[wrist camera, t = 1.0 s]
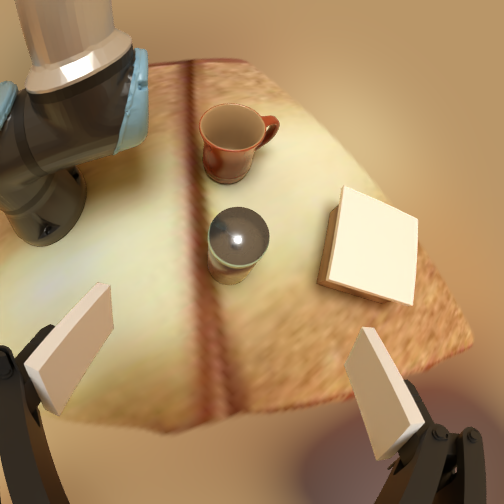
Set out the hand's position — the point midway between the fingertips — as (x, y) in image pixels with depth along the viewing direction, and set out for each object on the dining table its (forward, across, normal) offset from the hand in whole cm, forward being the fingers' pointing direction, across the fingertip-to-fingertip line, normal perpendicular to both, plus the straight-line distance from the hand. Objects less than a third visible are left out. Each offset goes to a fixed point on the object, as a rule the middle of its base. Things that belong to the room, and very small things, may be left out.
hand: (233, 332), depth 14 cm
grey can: (+25, -1, -7) cm, 26 cm away
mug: (+35, -3, +6) cm, 36 cm away
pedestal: (+29, +19, -4) cm, 34 cm away
